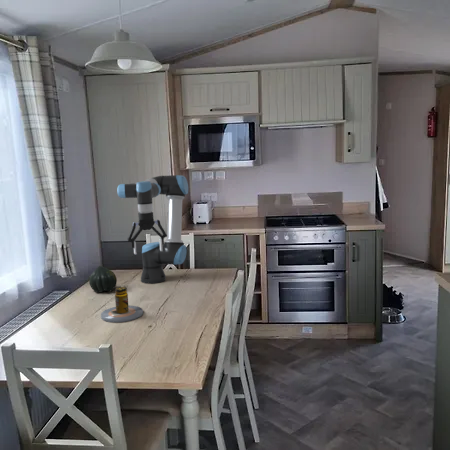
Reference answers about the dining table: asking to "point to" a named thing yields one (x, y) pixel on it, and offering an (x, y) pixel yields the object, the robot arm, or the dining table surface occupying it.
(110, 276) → the squash
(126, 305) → the condiment
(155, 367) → the dining table surface
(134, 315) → the ring stand
